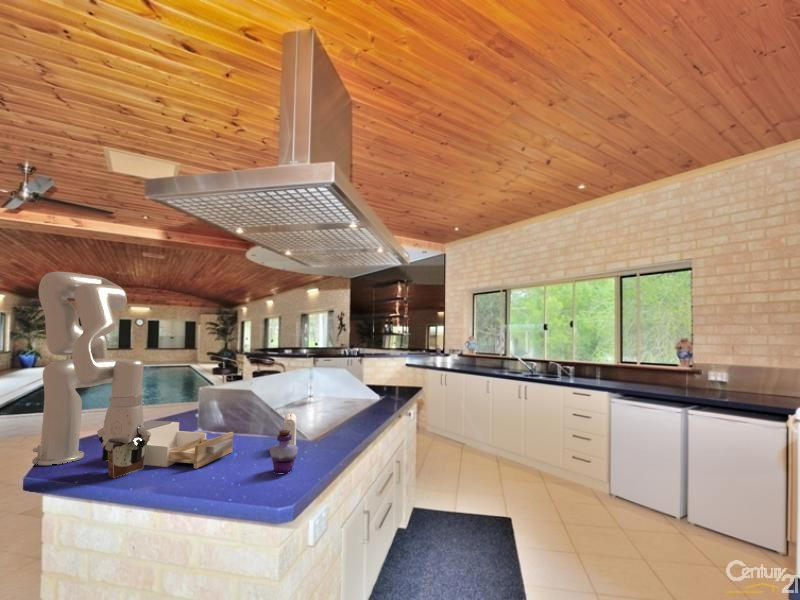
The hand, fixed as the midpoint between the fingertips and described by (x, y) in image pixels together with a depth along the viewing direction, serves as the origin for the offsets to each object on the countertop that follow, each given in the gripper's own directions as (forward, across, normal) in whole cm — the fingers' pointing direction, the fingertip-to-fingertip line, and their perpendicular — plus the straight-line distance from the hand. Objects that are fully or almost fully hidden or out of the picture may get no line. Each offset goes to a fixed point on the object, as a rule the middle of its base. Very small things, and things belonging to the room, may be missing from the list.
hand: (121, 461), depth 121 cm
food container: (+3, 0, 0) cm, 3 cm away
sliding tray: (+3, +15, +17) cm, 22 cm away
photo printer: (+3, +36, +35) cm, 50 cm away
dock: (+3, -2, +16) cm, 17 cm away
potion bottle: (+3, +45, +12) cm, 47 cm away
